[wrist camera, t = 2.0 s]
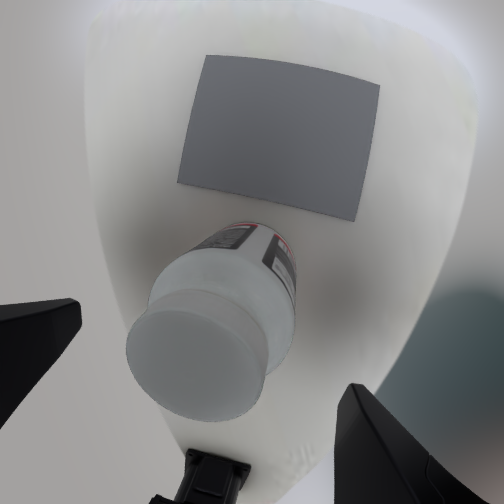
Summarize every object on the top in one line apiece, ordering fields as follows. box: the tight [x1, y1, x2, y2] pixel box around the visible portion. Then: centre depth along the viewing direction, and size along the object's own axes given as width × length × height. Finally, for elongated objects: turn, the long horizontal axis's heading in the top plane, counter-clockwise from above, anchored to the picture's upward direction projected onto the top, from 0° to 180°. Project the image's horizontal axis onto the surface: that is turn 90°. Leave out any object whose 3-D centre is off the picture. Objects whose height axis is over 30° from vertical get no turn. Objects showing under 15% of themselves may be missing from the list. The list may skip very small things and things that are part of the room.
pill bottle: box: [126, 222, 296, 422], centre depth 11 cm, size 5×5×10 cm
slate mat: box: [177, 55, 380, 222], centre depth 14 cm, size 8×10×1 cm
